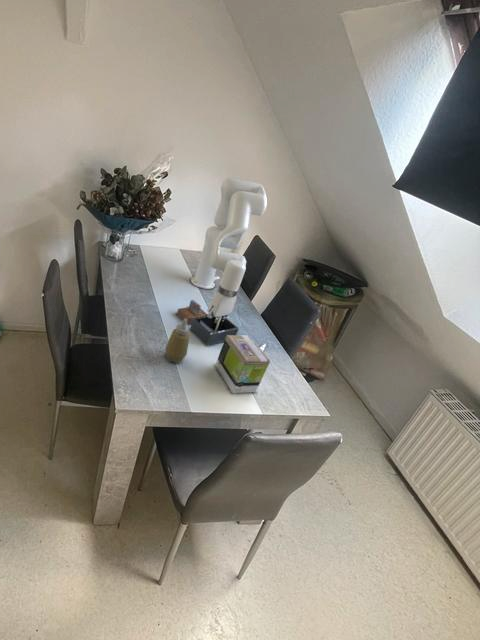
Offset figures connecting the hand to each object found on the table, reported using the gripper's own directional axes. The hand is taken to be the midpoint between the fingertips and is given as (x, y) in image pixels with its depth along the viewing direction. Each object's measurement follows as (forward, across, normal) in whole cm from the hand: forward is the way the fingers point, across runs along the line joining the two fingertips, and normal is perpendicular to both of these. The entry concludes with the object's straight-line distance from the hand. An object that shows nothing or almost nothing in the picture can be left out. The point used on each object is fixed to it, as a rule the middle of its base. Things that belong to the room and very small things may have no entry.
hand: (214, 327), depth 162 cm
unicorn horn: (+4, -7, +18) cm, 20 cm away
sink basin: (+4, 0, 0) cm, 4 cm away
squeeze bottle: (+4, +26, +8) cm, 27 cm away
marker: (+3, 0, 0) cm, 3 cm away
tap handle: (+1, +1, -14) cm, 14 cm away
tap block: (+4, +1, -14) cm, 14 cm away
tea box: (+4, +10, +25) cm, 27 cm away
